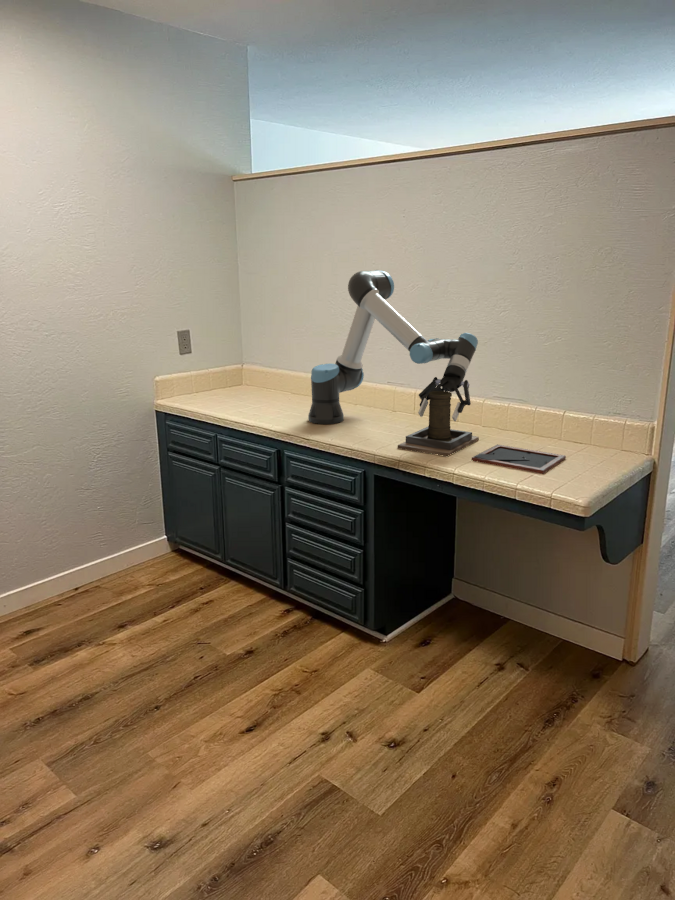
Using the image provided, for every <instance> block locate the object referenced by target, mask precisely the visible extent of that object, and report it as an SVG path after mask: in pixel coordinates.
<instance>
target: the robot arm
mask: <svg viewBox="0 0 675 900" xmlns="http://www.w3.org/2000/svg"><path fill="white" fill-rule="evenodd" d="M394 290H395V281H394V280H393V278H392V276H391V275H390V274H389V273H388V272H387V271H384V270H379V269H374V270H360V271H358V272H355V273H354V274H352V276H351V277H350V278H349V281H348V284H347V291H348V294H349V296H350V298H351V300H352V301H353V302H354V303H355V304H356V305H357V306H356V309H355V312H354V315H353V319H352V322H351V325H350V328H349V332H348V334H347V338H346V341H345V344H344V348H343V350H342V353H341V355H338V356H337V357H336V361H335V363H324V364H323V363H322V364H319V365H316V366H314V367H313V368H312V369H311V375H310V381H311V404H310V409H309V412H308V415H307V416H308V417H307V419H308V420H309V421H310V422H309V421H308V422H309V423H311V422H312V424H315V423H318V424H317V425H334V424H338V423H342V422H343V421H344V419H345V417H344V415H345V414H344V412H343V409H342V406H341V403H340V393H344V392H347V391H348V392H349V391H353V390H354V389H357V388H359V387H360V386H361V384H362V383H363V381H364V377H365V374H364V372H363V371H364V370H363V365H364V364H363V363H362V358H363V355H364V353H365V350H366V347H367V343H368V341H369V338H370V335H371V332H372V328H373V325H374V324H375V321H377V322H378V323H379V324H380V325H381V326H383V328H385V330H387V331H388V333H390V335H392V336H393V337H394V338H395V339H396V341H398V342H399V343H400V344H401V345H402V346H403V347H404V348H405V349H406V350H407V351H409V357H410V359H411V361H412V362H413V363H415V364H418V365H419V364H427V363H430V362H434V361H439V360H442V359H443V360H445V359H446V360H447V359H449V360H448V362H447V365H446V367H445V370H444V372H443V375H442V378H438V377H437V376H435V377H433V379H432V381H431V382H430V383H429V384H428V385H427V386H425V388H424V389H423V390H421V392H420V393H419V394H418V397H419V399H420V400H421V401H420V402H419V407H420V408H419V409H418V412H417V414H418V415H419V417H421V418H422V417H423V416H424V415H425V414H424V413H425V412H426V410H427V407H428V406H429V401H430V400H429V393H430V392H433V391H446V392H450V393H453V392H455V393H456V394H455V395H456V396H457V397H458V400H459V401H458V402H457V403H456V405H455V408H454V410H453V413H452V415H451V419H452V420H453V422H457V419H458V417H459V415H460V414H462V413H463V411H464V408H465V407H466V406H471V397H470V391H469V388H470V383H469V381H468V380H467V379H465V378H466V377H465V376H466V373H467V372H468V369H469V366H470V364H471V361H472V359H473V356H474V354H475V352H476V351H477V346H478V343H479V341H478V338H477V337H476V336H475V335H474V334H472V333H469V332H463V333H461V334H460V335H459V336H458V338H450V339H449V338H439V337H438V338H437V337H436V338H430V339H428V340H427V339H426V338H425V336H423V335H422V334H421V332H419V331H418V330H417V329H415V328H414V326H412V324H411V323H409V321H407V320H406V319H405V317H403V315H401V314H400V313H399V312H398V311H397V310H396V309H395V308H394V307H393V306H392V305H390V304H389V303H388V302H387V299H389V298H390V297H392V295H393V293H394ZM464 379H465V380H464ZM460 387H462V388H463V391H464V392H463V394H464V398H465V399H463V397H462V394H461V392H460V391H459V388H460Z"/></svg>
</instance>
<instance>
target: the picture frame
mask: <svg viewBox="0 0 675 900" xmlns="http://www.w3.org/2000/svg"><path fill="white" fill-rule="evenodd" d="M566 458H567V456H566V455H563V454H556V453H551V452H546V451H540V450H539V451H538V450H534V449H528V448H527V449H526V448H522V447H515V446H510V445H509V446H508V445H503V444H495V445H494V446H492V447H489V448H488V449H486V450H484V451H481V452H479V453H477V454H475V455H473V456H472V457H471V461H472V460H473V461H472V462H476V461H478V462H477V463H483V464H488V465H493V466H499V467H505V468H511V469H515V470H521V471H527V472H531V473H536V474H545V473H546V472H548V471H550V470H551V469H553V468H554V467H555V466H557V465H558V464H560V463H561V462H563V461H565V459H566Z"/></svg>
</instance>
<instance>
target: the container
mask: <svg viewBox="0 0 675 900" xmlns="http://www.w3.org/2000/svg"><path fill="white" fill-rule="evenodd" d="M452 396H453V392H449V391H448V392H446V391H433V392H430V393H429V400H428V401H429V402H428V407H429V408H428V425H427V427H428V428H429V429H428V434H427V435H428V437H427V439H434V440H440V441H447V442H449V441H451V440H452V439H451V437H450V436H451V433H450V429H451V406H452V404H451V400H452Z"/></svg>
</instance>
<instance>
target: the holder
mask: <svg viewBox="0 0 675 900" xmlns="http://www.w3.org/2000/svg"><path fill="white" fill-rule="evenodd" d="M428 429H429V428H428V426H426V427H424V428H422V429H419V430H417V431H414V432H412V433H410V434H408V435H406V436H405V441H403V442H402V443H400V444H398V445H397V449H399V448H402V449H401V450H405V449H407V450H406V451H411V450H412V452H417V451H418V452H417V453H423V452H425V453H424V454H429V453H432V454H431V455H435V454H438V455H437V456H440V455H443V457H446V456H448V455H450V454H452V453H454V452H455V453H457V452H459V451H461V450H462V448H463V449H465V448H467V447H468V446H471V445H472V444H473V443H476V442H478V441H479V439H480V437H479V436H475V435H473V432H472V431H465V430H459V429H457V430H456V429H451V428H450V433H451V436H450V437H451V439H452V440H451V441H449V442H447V441H440V440H434V439H427V437H428V435H427V434H428ZM477 440H478V441H477ZM466 446H467V447H466ZM464 447H465V448H464ZM460 449H461V450H460ZM458 450H459V451H458ZM456 451H457V452H456ZM455 453H454V454H455ZM452 455H453V454H452ZM450 456H451V455H450ZM448 457H449V456H448Z"/></svg>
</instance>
